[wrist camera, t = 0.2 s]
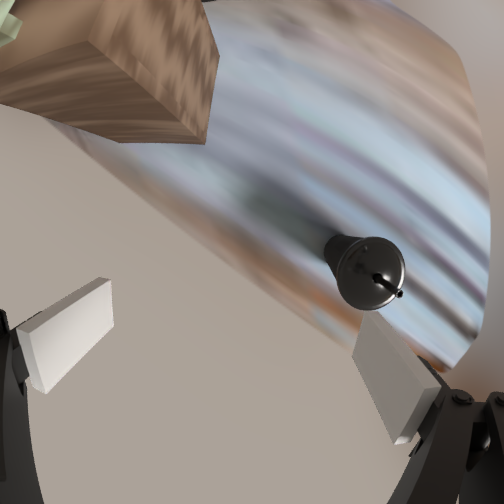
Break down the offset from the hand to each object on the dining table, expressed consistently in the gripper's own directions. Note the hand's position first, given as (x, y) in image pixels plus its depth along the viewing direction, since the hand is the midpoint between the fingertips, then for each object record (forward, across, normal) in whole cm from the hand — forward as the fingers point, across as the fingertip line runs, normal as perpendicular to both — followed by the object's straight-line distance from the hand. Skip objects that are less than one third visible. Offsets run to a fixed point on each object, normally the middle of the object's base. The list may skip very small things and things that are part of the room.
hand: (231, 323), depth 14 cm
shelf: (+28, -15, +20) cm, 38 cm away
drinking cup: (+28, +13, -1) cm, 30 cm away
